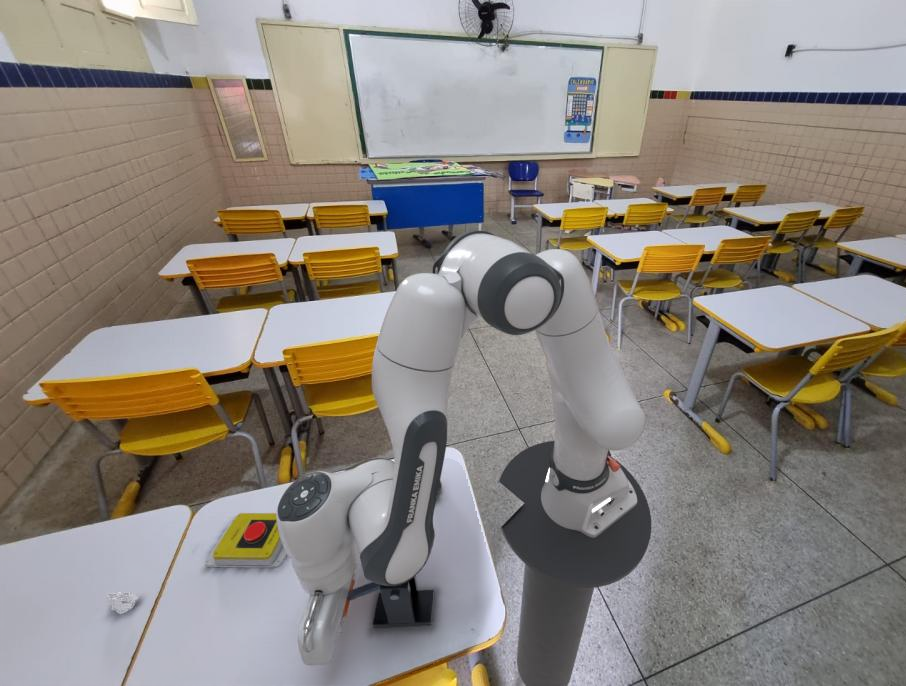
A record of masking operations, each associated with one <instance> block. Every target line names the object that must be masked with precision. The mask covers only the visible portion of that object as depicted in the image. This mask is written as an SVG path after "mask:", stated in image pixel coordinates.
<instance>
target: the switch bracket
mask: <svg viewBox="0 0 906 686" xmlns="http://www.w3.org/2000/svg"><path fill="white" fill-rule="evenodd" d="M379 591H380V592H378V594H377V600H376V604H375V610H374V614H373V615H374V616H373V620H372V628H373V629H383V628H402V627H421V626H432V623H433V622H432V621H433V612H434V600H435V590H434V589H422V590H421V589H419V585H418V580H417V575H416V576H414V577H413V578H412V579H411V580H409V581H407V582H406V583H404V584H401V585H398V586H385V585H380V589H379Z"/></svg>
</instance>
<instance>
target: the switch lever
mask: <svg viewBox="0 0 906 686" xmlns="http://www.w3.org/2000/svg"><path fill="white" fill-rule="evenodd" d="M355 580H356V579H355ZM355 580H353V579H352V581H351V584H350V588H349V592H348V596H347V600H346V603H345V607H344V611H343V615H342V617H343V618H345V617H347V615H348V611H349V607H350V604H351V601H353V600H356V599H358V598H361V597H364V596H366V595H369V594H371V593H374V592H377V591H380V584H376V583H373V582H371V581H370V582H369V583H365V584H363V585H361V586H357V587H356V588H355V583H356V581H355Z"/></svg>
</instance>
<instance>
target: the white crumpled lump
mask: <svg viewBox="0 0 906 686" xmlns="http://www.w3.org/2000/svg"><path fill="white" fill-rule="evenodd" d="M138 599H139V596H137V595H135V594H133V593H132V592H121V591H118V592H111V593H107V595H106V604H112V605H111V608H110V609H111V611H115V612H116V613H117V614H118V615H123V614H126V613H127V612H128V611H130V610H132V609H133V608H134V607H135V604H136V601H137V600H138ZM125 601H127V603H124V602H125Z"/></svg>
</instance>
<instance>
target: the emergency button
mask: <svg viewBox="0 0 906 686" xmlns="http://www.w3.org/2000/svg"><path fill="white" fill-rule="evenodd" d="M276 515H277V512H276V513H275V512H240V513H238V514H237V515H236V516H235V517H234V519H233V520H231V521H230V522H229V523H228V525H227V526H226V528H225V529H224V531H223V532H222V534H221V535H220V537H219V539H218V540H217V542H216V544H215V545H214V546H213V548H212V550H211V552H210V553H209V555H207V558H206V559H205V562H204V564H205V566H206V567H207V568H249V569H250V568H251V569H252V568H259V569H261V568H263V569H264V568H268V569H269V568H270V569H273V568H274V569H276V568H280V567H281V566H282V565H283V564H284V563H285V561H286V558H287V557H288V555H287V553H286V551H285V549H284V546H283V544H282V541H281V538H280V535H279V532H278V528H277V521H276Z"/></svg>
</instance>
